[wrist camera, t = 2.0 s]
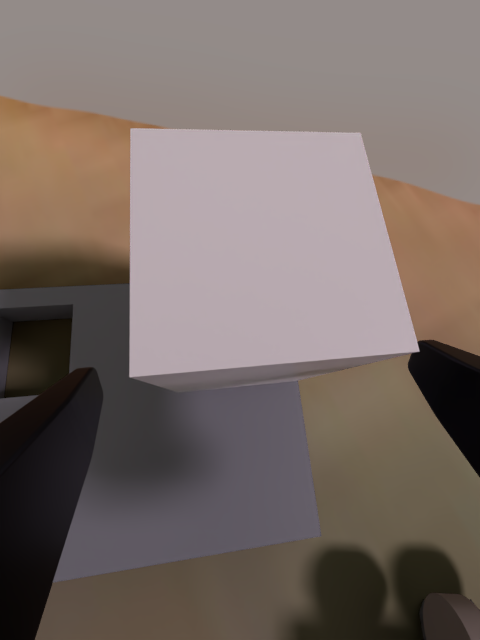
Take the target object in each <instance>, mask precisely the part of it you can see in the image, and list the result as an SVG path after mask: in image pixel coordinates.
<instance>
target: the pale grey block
mask: <svg viewBox="0 0 480 640" xmlns="http://www.w3.org/2000/svg"><path fill="white" fill-rule="evenodd" d="M415 352H420V351H419V347H418V343H417V340H416V336H415V332H414V328H413V325H412V321H411V317H410V314H409V310H408V306H407V303H406V299H405V295H404V292H403V288H402V284H401V281H400V277H399V273H398V269H397V266H396V262H395V258H394V255H393V251H392V247H391V244H390V240H389V236H388V233H387V229H386V225H385V222H384V218H383V214H382V210H381V207H380V203H379V199H378V196H377V192H376V188H375V185H374V181H373V177H372V174H371V170H370V166H369V162H368V159H367V155H366V152H365V148H364V144H363V140H362V137H361V133H343V132H290V131H289V132H288V131H239V130H190V129H139V128H131V153H130V363H129V377H130V378H133V379H136V380H140V381H143V382H146V383H149V384H153V385H156V386H159V387H162V388H166V389H169V390H172V391H175V392H188V391H199V390H209V389H219V388H229V387H240V386H250V385H260V384H270V383H281V382H291V381H298V380H302V379H307V378H311V377H315V376H319V375H323V374H327V373H332V372H336V371H340V370H344V369H348V368H353V367H357V366H361V365H365V364H369V363H374V362H378V361H382V360H386V359H390V358H394V357H399V356H403V355H407V354H411V353H415Z"/></svg>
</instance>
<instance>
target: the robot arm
mask: <svg viewBox="0 0 480 640" xmlns="http://www.w3.org/2000/svg"><path fill="white" fill-rule="evenodd" d="M417 343H418V347H419V351H420V352H415V353H412V354H411V356H410V359H409V362H408V369H409V371H410V373H411V375H412V377H413V378H414V380H415V382H416V383H417V385H418V387H419V389H420V390H421V392H422V394H423V395H424V397H425V399H426V400H427V402H428V404H429V406H430V407H431V409H432V411H433V412H434V414H435V415H436V417H437V418H438V420H439V421H440V423H441V424H442V426H443V427H444V428H445V430H446V431H447V432H448V434H449V435H450V437H451V438H452V439H453V441H454V442H455V444H456V445H457V446H458V448H459V449H460V451H461V452H462V453H463V455H464V456H465V458H466V459H467V460H468V462H469V463H470V465H471V466H472V467H473V469H474V470H475V472H476V473H477V474H478V476H479V477H480V356H477V355H475V354H472V353H469V352H466V351H463V350H460V349H458V348H455V347H452V346H449V345H446V344H443V343H441V342H438V341H435V340H421V341H418V342H417ZM102 404H103V389H102V386H101V383H100V380H99V376H98V373H97V371H96V369H95V368H93V367H85V368H77V369H75V370H73V371H72V372H71V373H69V374H68V375H66V376H65V377H64V378H62V379H61V380H59V381H58V382H57V383H55V384H54V385H52V386H51V387H50V388H48V389H47V390H45V391H44V392H43V393H41V394H40V395H38V396H37V397H36V398H34V399H33V400H31V401H30V402H29V403H27V404H26V405H24V406H23V407H22V408H20V409H19V410H17V411H16V412H15V413H13V414H12V415H10V416H9V417H8V418H6V419H5V420H3V421H2V422H1V423H0V640H35V637H36V634H37V631H38V628H39V624H40V621H41V618H42V615H43V612H44V608H45V605H46V602H47V599H48V596H49V593H50V589H51V586H52V583H53V580H54V577H55V573H56V570H57V567H58V564H59V561H60V558H61V554H62V551H63V548H64V545H65V542H66V539H67V535H68V532H69V529H70V526H71V523H72V519H73V516H74V513H75V510H76V507H77V504H78V500H79V497H80V494H81V491H82V488H83V484H84V481H85V478H86V475H87V472H88V469H89V465H90V462H91V458H92V454H93V450H94V445H95V440H96V435H97V430H98V424H99V419H100V414H101V409H102Z"/></svg>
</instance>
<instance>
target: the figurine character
mask: <svg viewBox="0 0 480 640" xmlns="http://www.w3.org/2000/svg"><path fill="white" fill-rule="evenodd" d="M419 614H420V621H421V627H422V633H423V640H480V610H479V609H478V608H477V607H476V606H475V604H474V603H473V602H472V601H471V599H470V600H469V599H468V598H466V597H465V596H463V595H460V594H447V593H430V594H429V595H427V597H426V599H425V601H424V599H423V602H422V605H421V608H420V611H419Z"/></svg>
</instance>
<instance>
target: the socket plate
mask: <svg viewBox="0 0 480 640" xmlns="http://www.w3.org/2000/svg"><path fill="white" fill-rule="evenodd" d="M68 318H72V334H71V350H70V366H69V373H71V372H72V371H73V370H75V369H77V368H85V367H93V368H95V369H96V371H97V373H98V376H99V380H100V383H101V386H102V389H103V404H102V409H101V414H100V419H99V424H98V430H97V435H96V440H95V445H94V450H93V454H92V458H91V462H90V465H89V469H88V472H87V475H86V478H85V481H84V484H83V488H82V491H81V494H80V497H79V500H78V504H77V507H76V510H75V513H74V516H73V519H72V523H71V526H70V529H69V532H68V535H67V539H66V542H65V545H64V548H63V551H62V554H61V558H60V561H59V564H58V567H57V570H56V573H55V577H54V580H53V582H59V581H64V580H70V579H76V578H82V577H88V576H93V575H99V574H105V573H111V572H116V571H122V570H128V569H134V568H140V567H145V566H151V565H157V564H163V563H169V562H174V561H180V560H186V559H192V558H197V557H203V556H209V555H215V554H221V553H226V552H232V551H238V550H244V549H250V548H255V547H261V546H267V545H273V544H279V543H284V542H290V541H296V540H302V539H307V538H313V537H319V536H321V531H320V525H319V518H318V511H317V505H316V498H315V491H314V485H313V478H312V472H311V465H310V458H309V452H308V445H307V438H306V432H305V425H304V419H303V412H302V405H301V399H300V392H299V385H298V381H291V382H281V383H270V384H260V385H250V386H240V387H229V388H219V389H209V390H199V391H188V392H175V391H172V390H169V389H166V388H162V387H159V386H156V385H153V384H149V383H146V382H143V381H140V380H136V379H133V378H130V377H129V363H130V283H128V284H108V285H87V286H66V287H45V288H24V289H4V290H0V423H1V422H2V421H3V420H5V419H6V418H8V417H9V416H10V415H12V414H13V413H15V412H16V411H17V410H19V409H20V408H22V407H23V406H24V405H26V404H27V403H29V402H30V401H31V400H33V399H34V398H36V397H37V396H38V395H34V396H23V397H12V398H4V394H5V385H6V377H7V368H8V360H9V351H10V343H11V335H12V326H13V322H19V321H35V320H52V319H68Z"/></svg>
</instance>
